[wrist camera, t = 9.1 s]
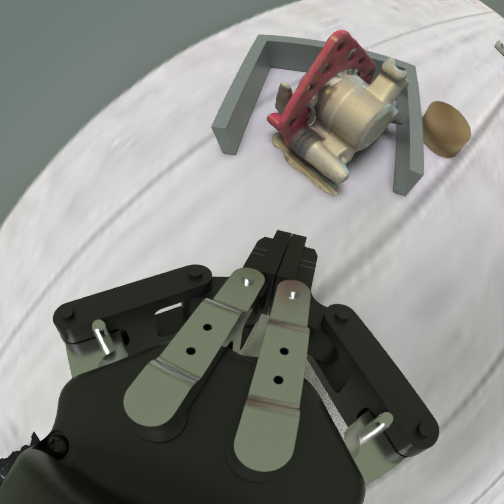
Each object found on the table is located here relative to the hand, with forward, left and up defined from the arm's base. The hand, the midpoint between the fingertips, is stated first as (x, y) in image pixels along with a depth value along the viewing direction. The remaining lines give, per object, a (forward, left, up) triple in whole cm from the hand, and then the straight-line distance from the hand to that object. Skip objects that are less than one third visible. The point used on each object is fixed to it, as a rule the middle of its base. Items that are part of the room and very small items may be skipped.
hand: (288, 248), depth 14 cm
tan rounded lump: (-12, -17, -7) cm, 22 cm away
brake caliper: (-1, -13, -7) cm, 15 cm away
